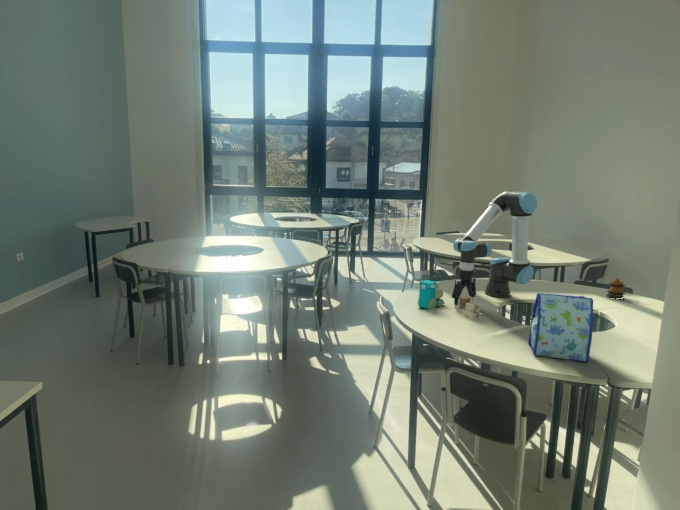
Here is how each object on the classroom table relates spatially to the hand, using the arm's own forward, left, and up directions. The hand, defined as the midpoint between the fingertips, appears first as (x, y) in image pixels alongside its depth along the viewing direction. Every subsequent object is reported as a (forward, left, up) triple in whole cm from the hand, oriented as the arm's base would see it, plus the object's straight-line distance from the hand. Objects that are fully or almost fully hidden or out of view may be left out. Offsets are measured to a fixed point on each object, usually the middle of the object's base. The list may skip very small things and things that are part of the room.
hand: (462, 309), depth 259 cm
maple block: (+9, +14, +1) cm, 17 cm away
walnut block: (0, 0, 0) cm, 0 cm away
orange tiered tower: (-108, +27, -1) cm, 111 cm away
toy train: (+12, -12, -1) cm, 17 cm away
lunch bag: (+11, +63, -1) cm, 64 cm away
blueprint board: (+7, +12, 0) cm, 14 cm away
